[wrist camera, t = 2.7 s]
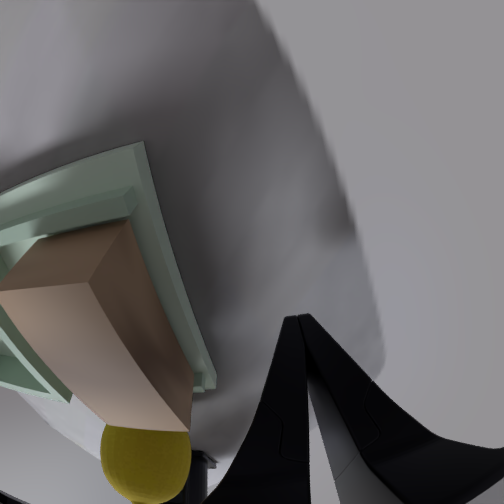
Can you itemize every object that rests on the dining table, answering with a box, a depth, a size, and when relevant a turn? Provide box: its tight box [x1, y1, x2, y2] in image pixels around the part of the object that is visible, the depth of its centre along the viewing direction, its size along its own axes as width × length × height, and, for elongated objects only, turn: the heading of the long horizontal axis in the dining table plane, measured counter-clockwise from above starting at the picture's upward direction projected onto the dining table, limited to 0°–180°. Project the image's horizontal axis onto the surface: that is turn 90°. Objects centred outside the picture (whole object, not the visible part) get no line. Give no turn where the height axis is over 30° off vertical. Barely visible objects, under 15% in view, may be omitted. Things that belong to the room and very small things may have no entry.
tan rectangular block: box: [0, 219, 194, 432], centre depth 9 cm, size 8×4×3 cm, turn 7°
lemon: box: [100, 424, 191, 504], centre depth 13 cm, size 6×6×8 cm
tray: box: [0, 141, 217, 403], centre depth 10 cm, size 12×17×3 cm
